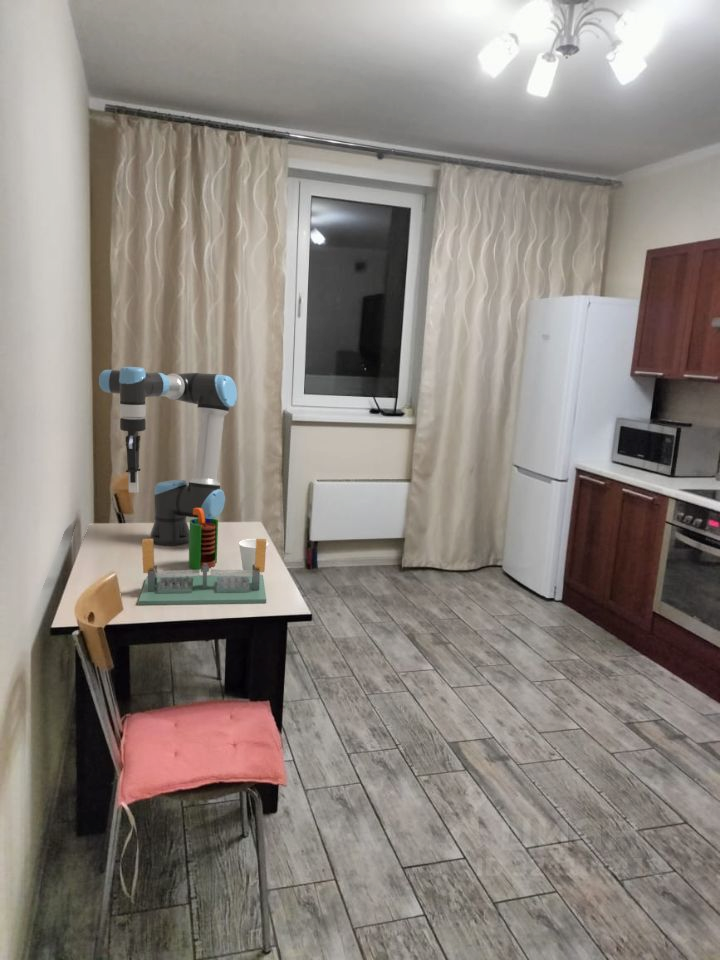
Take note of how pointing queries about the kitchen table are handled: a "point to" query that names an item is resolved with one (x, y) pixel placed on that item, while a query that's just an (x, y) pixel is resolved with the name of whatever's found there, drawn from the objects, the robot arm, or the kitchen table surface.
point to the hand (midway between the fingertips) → (133, 491)
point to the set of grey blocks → (186, 583)
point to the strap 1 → (149, 563)
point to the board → (203, 593)
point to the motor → (202, 540)
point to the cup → (248, 553)
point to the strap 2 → (259, 565)
